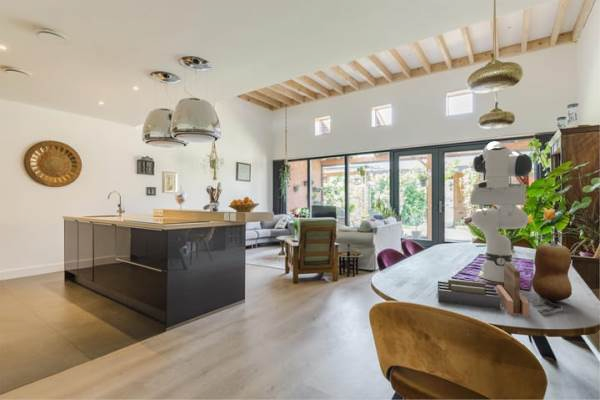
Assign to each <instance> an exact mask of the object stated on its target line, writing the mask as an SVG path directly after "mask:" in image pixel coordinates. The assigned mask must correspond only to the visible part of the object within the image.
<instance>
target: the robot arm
mask: <svg viewBox="0 0 600 400" xmlns="http://www.w3.org/2000/svg"><path fill="white" fill-rule="evenodd" d="M472 167H473V169H474V171H475V172H476V173H478V174H479V173H481V174H483V175H485V177H484V180H481V181H479V182H476V183H473V185H472V186H473V189H472V190H471V193H470V197H469V198H470V199H469V201H470V204H471V205H473V206H476V205H478V207H479V209H475V210H474V211H473V212H472V214H471V221H472V223H473V225H474V226H475V227H476V228H478V229H479V230H480V231H481V232H482V233H483V235H484V237H485V241H486V242H485V243H486V244H485V245H486V251H485V261H483V263H481V264H480V269H481V270H480V271H479V273H478V278H479V279H485V280H486V281H487V280H488V281H492V282H497V283H504V262H509V263H510V264H512V265H513V266H514V267H515V268H516V265H515V264H514V263H513V262H512V261H513V255H512V241H511V239H510V238H509V237H507V236H505V235H503V234H501V233H499V232H498V230H499V229H503V230H505V229H507V230H516V229H517V230H518V229H524V228H525V227H526V226H527V225H528V222H529V216H528V214H527V212H526V211H524V210H523V209H522V208H519V207H518V206H524V205H525V204H526V203H527V198H526V192H527V187H526V185H525V184H523V183H510V177H517V178H518V177H522V178H523V177H526V176H528V175H529V174H530V173H531V172H532V170H533V169H532V168H533V160H532V158H531V157H530V156H529V155H528V154H527V153H522V152H520V151H519V150H516V149H513V148H510V147H508V146H506V145H505V144H503V142H499V141H491V142H489V143H488V144H486V145H485V147H484V148H483V151H482V152H480V153H479V154H478V155H476V156H475V157H474V158H473V161H472ZM484 206H494V207H496V208H484Z"/></svg>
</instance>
